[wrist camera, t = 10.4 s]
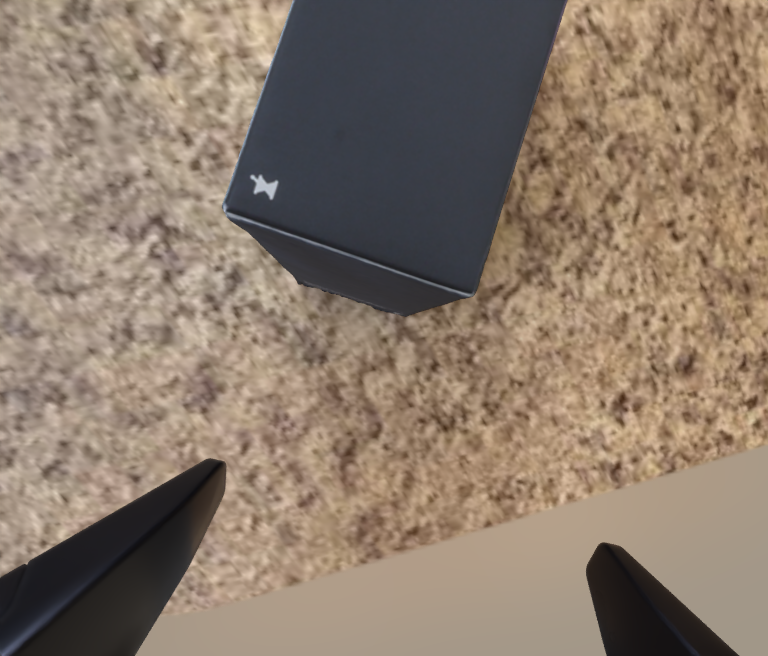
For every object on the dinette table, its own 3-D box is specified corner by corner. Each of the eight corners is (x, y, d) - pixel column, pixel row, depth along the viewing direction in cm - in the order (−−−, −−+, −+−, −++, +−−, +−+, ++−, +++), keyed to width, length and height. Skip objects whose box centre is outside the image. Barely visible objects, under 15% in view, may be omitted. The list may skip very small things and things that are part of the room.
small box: (414, 322, 19) (485, 312, 8) (292, 283, 18) (200, 217, 8) (476, 130, 19) (621, -120, 8) (357, 87, 18) (353, -232, 8)
